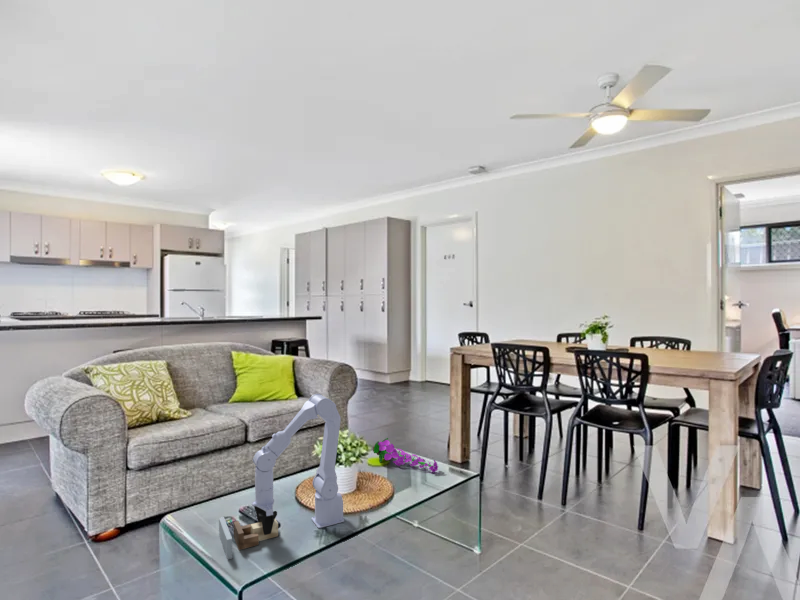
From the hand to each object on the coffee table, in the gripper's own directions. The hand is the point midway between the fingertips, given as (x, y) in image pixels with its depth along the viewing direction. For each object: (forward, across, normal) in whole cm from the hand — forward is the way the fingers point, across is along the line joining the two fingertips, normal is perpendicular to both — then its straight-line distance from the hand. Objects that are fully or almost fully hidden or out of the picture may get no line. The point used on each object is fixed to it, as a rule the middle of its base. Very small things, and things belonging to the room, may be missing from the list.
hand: (264, 528), depth 154 cm
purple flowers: (+3, -33, +72) cm, 80 cm away
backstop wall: (+3, 0, -12) cm, 13 cm away
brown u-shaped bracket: (+3, 0, -6) cm, 7 cm away
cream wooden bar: (+3, 0, 0) cm, 3 cm away
